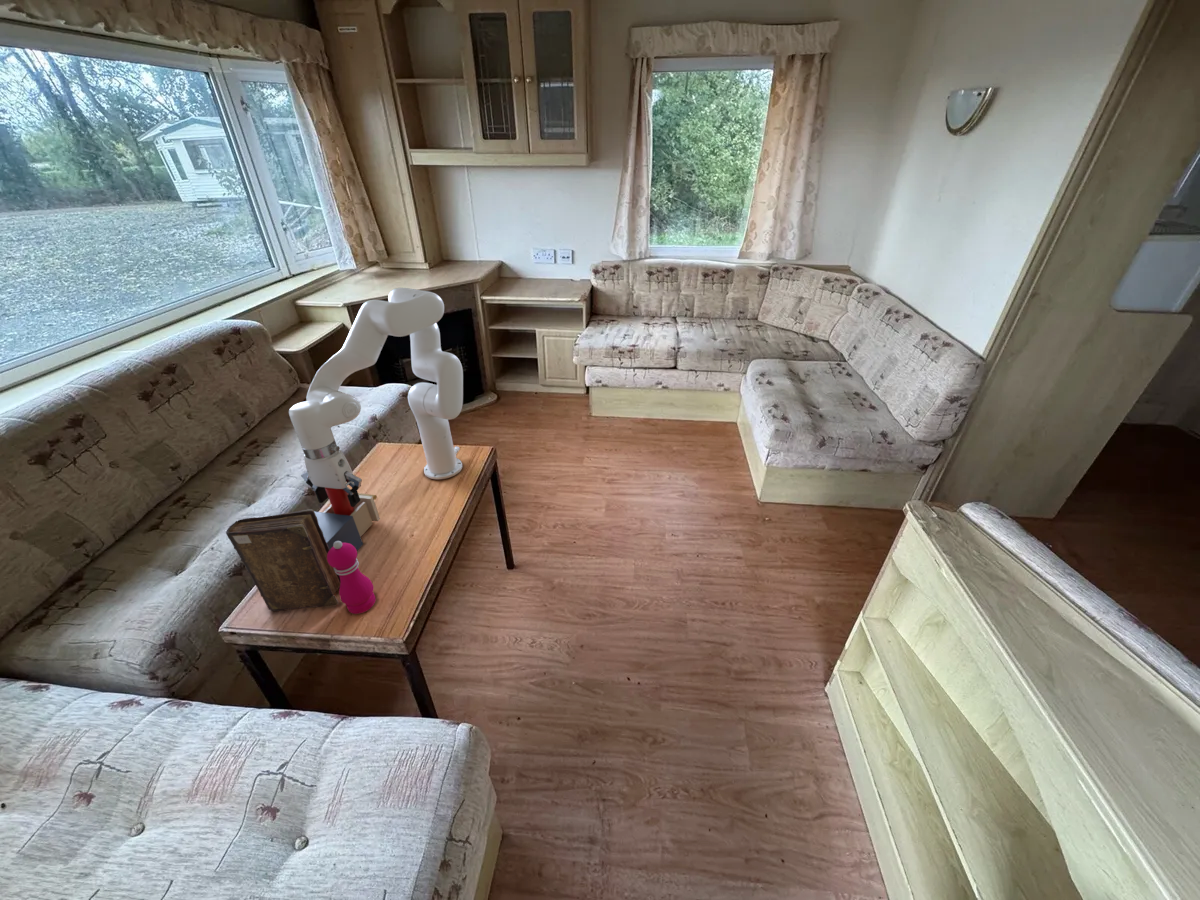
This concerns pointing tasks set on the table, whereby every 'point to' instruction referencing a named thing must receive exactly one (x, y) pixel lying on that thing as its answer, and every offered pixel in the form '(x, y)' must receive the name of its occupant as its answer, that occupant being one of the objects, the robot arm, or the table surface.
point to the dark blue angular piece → (339, 529)
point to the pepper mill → (351, 578)
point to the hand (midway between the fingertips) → (340, 501)
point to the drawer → (362, 512)
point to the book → (287, 559)
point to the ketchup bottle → (339, 501)
